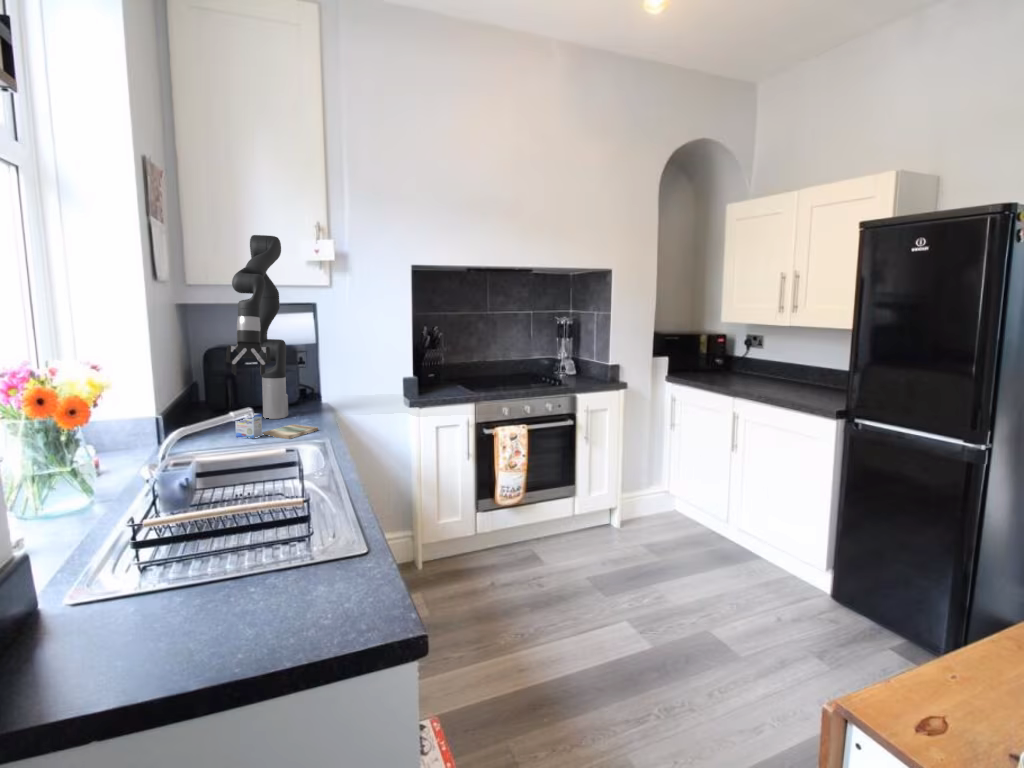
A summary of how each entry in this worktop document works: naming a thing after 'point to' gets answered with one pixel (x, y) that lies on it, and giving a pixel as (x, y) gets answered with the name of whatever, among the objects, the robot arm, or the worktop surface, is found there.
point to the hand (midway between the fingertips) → (248, 375)
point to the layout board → (290, 431)
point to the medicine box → (249, 427)
